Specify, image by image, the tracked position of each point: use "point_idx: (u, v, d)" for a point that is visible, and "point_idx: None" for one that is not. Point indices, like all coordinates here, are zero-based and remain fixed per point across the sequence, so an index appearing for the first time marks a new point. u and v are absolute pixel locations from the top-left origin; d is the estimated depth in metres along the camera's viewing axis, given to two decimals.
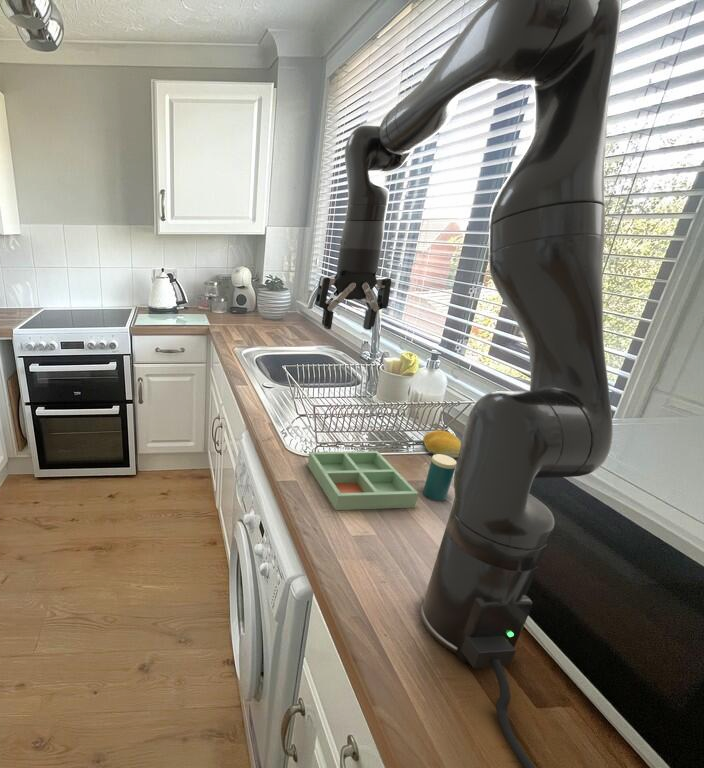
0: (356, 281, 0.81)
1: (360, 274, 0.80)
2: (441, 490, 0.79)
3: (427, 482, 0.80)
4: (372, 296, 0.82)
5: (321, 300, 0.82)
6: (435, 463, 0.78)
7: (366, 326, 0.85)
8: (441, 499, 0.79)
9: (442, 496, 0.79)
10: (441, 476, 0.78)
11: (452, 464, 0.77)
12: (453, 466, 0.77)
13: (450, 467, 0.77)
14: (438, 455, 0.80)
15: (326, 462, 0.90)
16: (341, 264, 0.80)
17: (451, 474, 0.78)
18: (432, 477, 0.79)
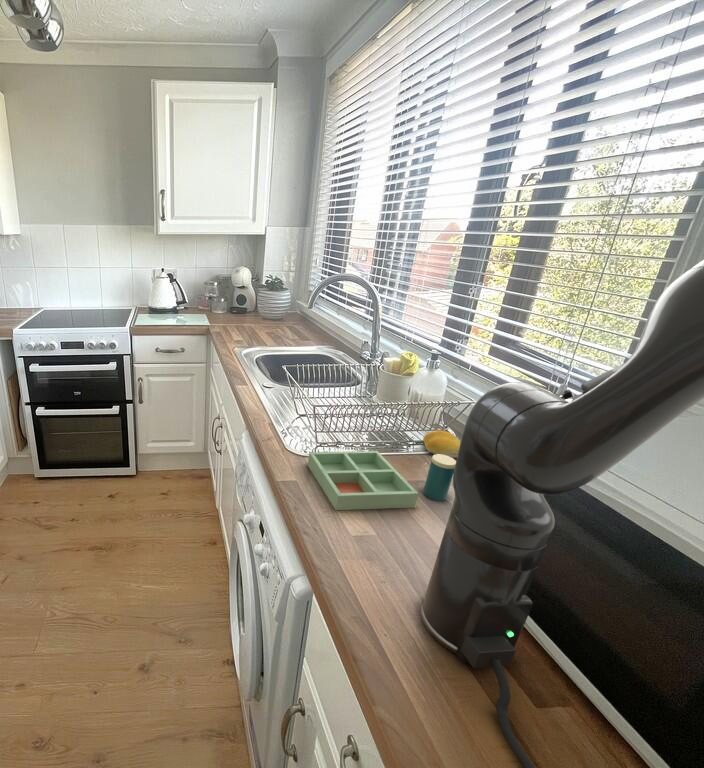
0: None
1: None
2: (441, 490, 0.79)
3: (427, 482, 0.80)
4: None
5: None
6: (435, 463, 0.78)
7: None
8: (441, 499, 0.79)
9: (442, 496, 0.79)
10: (441, 476, 0.78)
11: (452, 464, 0.77)
12: (453, 466, 0.77)
13: (450, 467, 0.77)
14: (438, 455, 0.80)
15: (326, 462, 0.90)
16: None
17: (451, 474, 0.78)
18: (432, 477, 0.79)
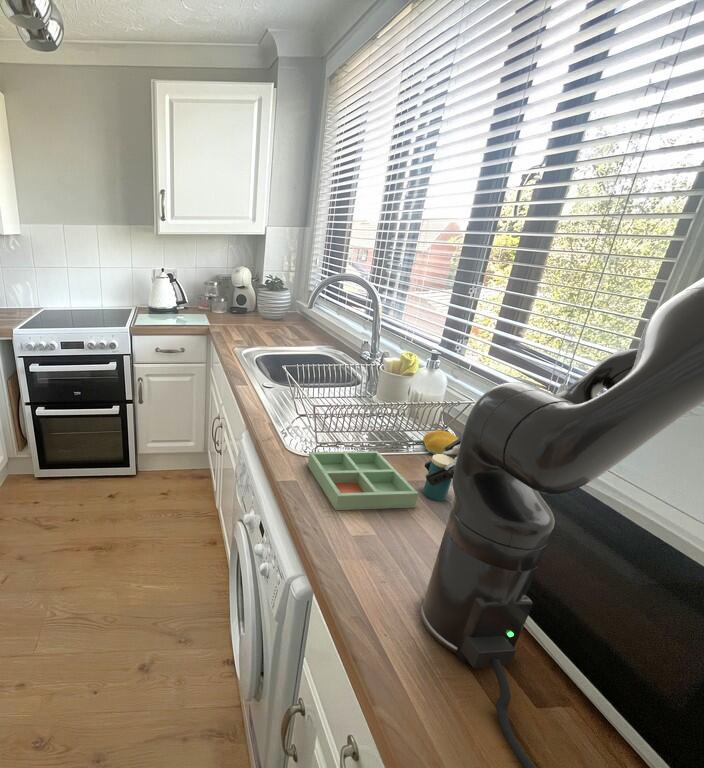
0: None
1: None
2: (441, 490, 0.79)
3: (427, 482, 0.80)
4: None
5: None
6: (435, 463, 0.78)
7: None
8: (441, 499, 0.79)
9: (442, 495, 0.79)
10: None
11: None
12: None
13: None
14: (438, 455, 0.80)
15: (326, 462, 0.90)
16: None
17: None
18: None
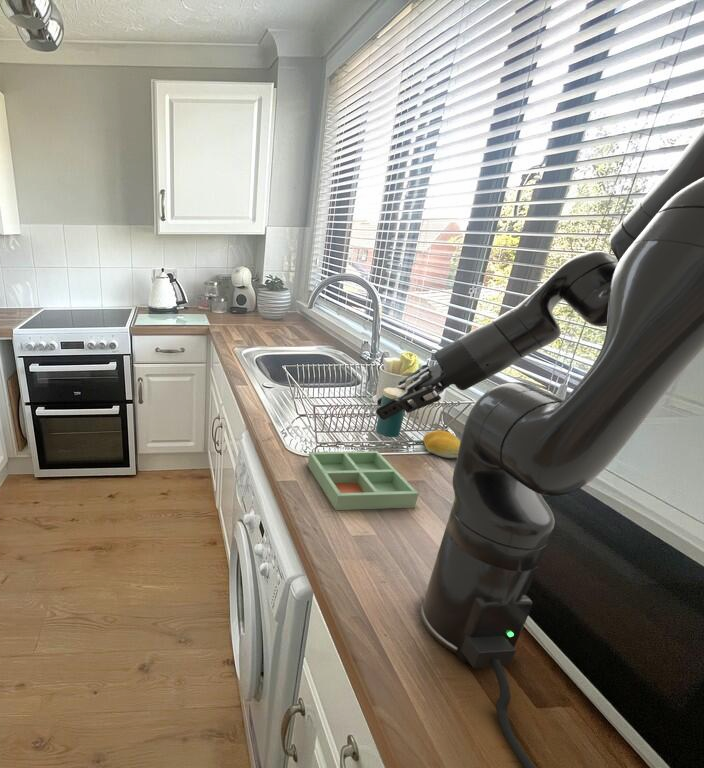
0: None
1: None
2: (392, 425, 0.73)
3: (379, 418, 0.75)
4: None
5: None
6: (386, 395, 0.72)
7: None
8: (393, 435, 0.74)
9: (394, 431, 0.73)
10: None
11: None
12: None
13: None
14: (390, 388, 0.74)
15: (326, 462, 0.90)
16: (461, 379, 0.64)
17: None
18: None
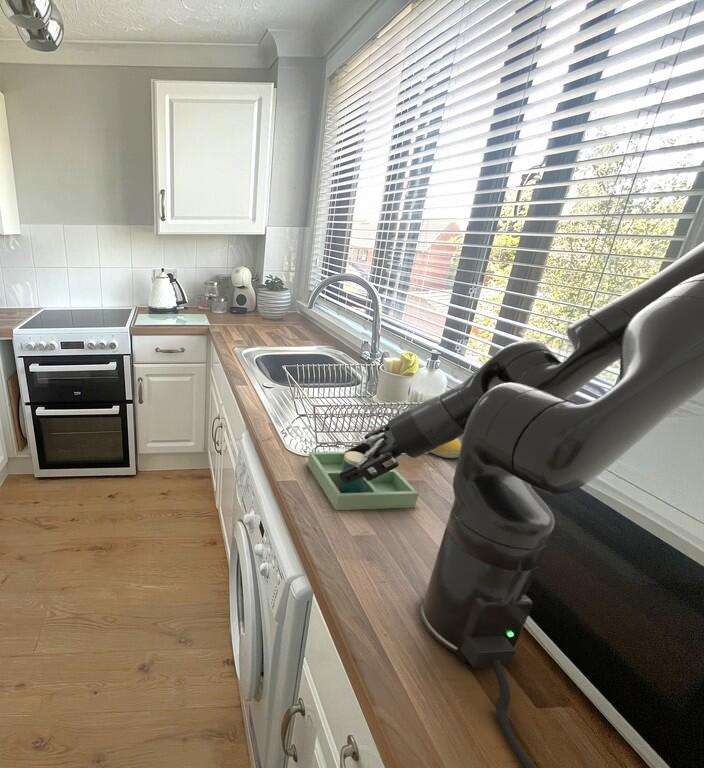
0: None
1: None
2: (353, 488, 0.77)
3: (341, 480, 0.79)
4: None
5: None
6: (346, 460, 0.77)
7: None
8: None
9: None
10: None
11: None
12: None
13: None
14: (351, 452, 0.78)
15: (326, 462, 0.90)
16: (411, 449, 0.69)
17: None
18: None
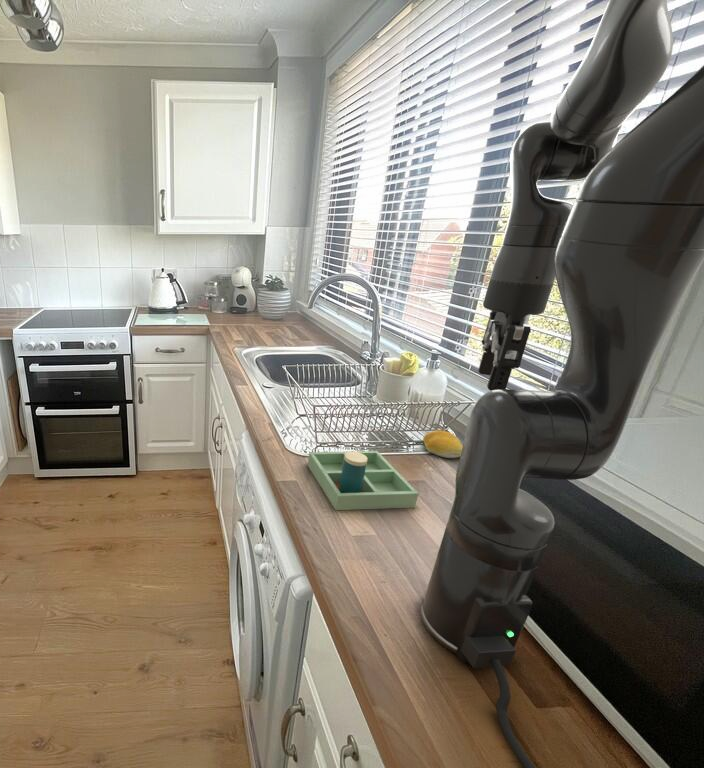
0: None
1: None
2: (353, 488, 0.77)
3: (341, 480, 0.79)
4: None
5: None
6: (346, 460, 0.77)
7: (488, 371, 0.69)
8: None
9: None
10: (352, 473, 0.76)
11: (362, 461, 0.76)
12: (363, 463, 0.76)
13: (360, 464, 0.76)
14: (351, 452, 0.78)
15: (326, 462, 0.90)
16: (528, 305, 0.58)
17: (362, 471, 0.76)
18: (344, 475, 0.78)
